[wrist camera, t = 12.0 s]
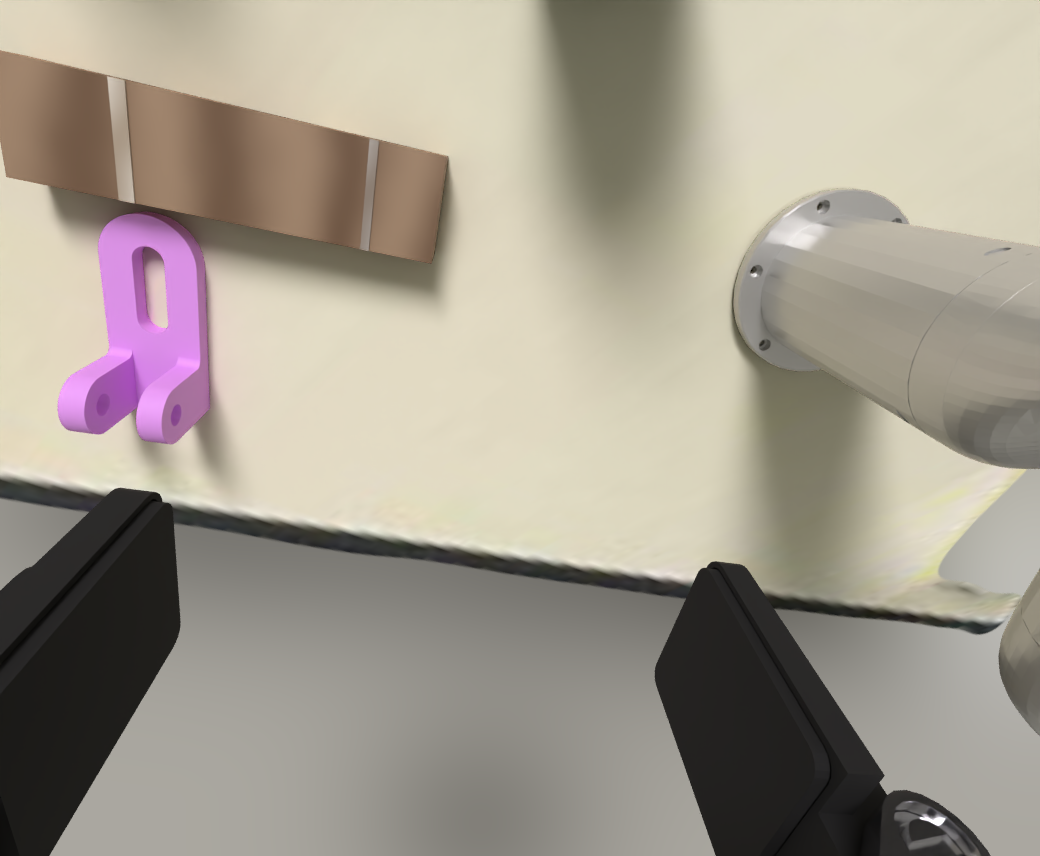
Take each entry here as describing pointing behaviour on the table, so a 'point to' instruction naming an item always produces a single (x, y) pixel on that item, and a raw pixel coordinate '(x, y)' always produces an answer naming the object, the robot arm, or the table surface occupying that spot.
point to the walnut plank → (216, 160)
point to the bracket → (145, 337)
